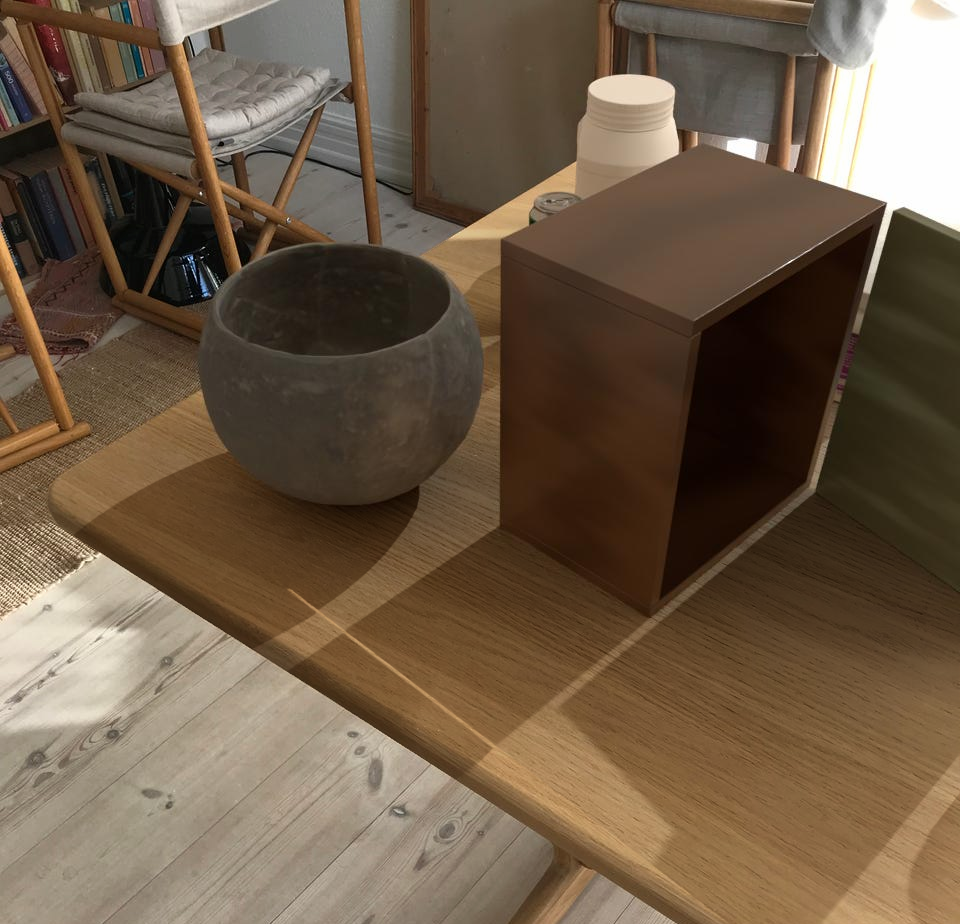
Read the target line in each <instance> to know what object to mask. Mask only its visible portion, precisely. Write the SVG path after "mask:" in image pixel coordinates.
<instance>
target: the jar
mask: <svg viewBox="0 0 960 924" xmlns="http://www.w3.org/2000/svg"><path fill="white" fill-rule="evenodd" d="M586 96H587V100H586V105H587V106H586V111H585V114H584V116H583V117H582V118H581V119H580V120H579V122H578V123H577V130H576V131H577V134H576V162H575V163H576V164H575V183H574V194H576V195H578V196H580V197H581V198H582V199H583V200H584V199H586V198H588V197H590V196H592V195H594V194H596V193H598V192H600V191H602V190H605V189H607V188H609V187H611V186H613V185H615V184H617V183H619V182H621V181H623V180H626V179H628V178H630V177H632V176H634V175H636V174H638V173H640V172H642V171H644V170H647V169H649V168H651V167H653V166H655V165H657V164H659V163H661V162H663V161H665V160H668V159H670V158H672V157H674V156H676V155H678V154H680V152H679V151H680V140H679V137H678V132H677V131H678V130H677V126H676V121H675V118H674V107H675V106H674V104H675V96H676V89H675V87H674V86H673V84H671V83H670V82H669V81H666V80H664V79H661V78H659V77H655V76H650V75H644V74H630V73H629V74H628V73H627V74H613V75H607V76H603V77H601V78H598V79H596V80H594V81H593V82H591V83H590V84H589V85H588V87H587V95H586Z"/></svg>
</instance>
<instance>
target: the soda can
mask: <svg viewBox="0 0 960 924" xmlns="http://www.w3.org/2000/svg"><path fill="white" fill-rule="evenodd" d="M581 200H583V199H582V198H581V197H580V196H578V195H576V194H575V193H572V192H569V191H568V192H567V191H549V192H545V193H542V194H540V195H538V196H536V197H535V198H534V200H533V206H532V207H531V209H530V210H529V212H528V226H529V225H531V224H533V223H535V222H537V221H539V220H542V219H544V218H546V217H548V216H550V215H552V214H554V213H556V212H558V211H560V210H563V209H565V208H567V207H569V206H571V205H573V204H575V203H577V202H579V201H581Z"/></svg>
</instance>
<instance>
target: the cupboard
mask: <svg viewBox="0 0 960 924" xmlns="http://www.w3.org/2000/svg"><path fill="white" fill-rule="evenodd" d="M887 207H888V202H887V201H884V200H881V199H877V198H874V197H871V196H869V195H866V194H862V193H859V192H857V191H852V190H849V189H846V188H844V187H841V186H837V185H835V184H831V183H828V182H826V181H822V180H818V179H815V178H813V177H810V176H806V175H803V174H800V173H798V172H794V171H791V170H789V169H785V168H781V167H778V166H775V165H772V164H769V163H766V162H763V161H760V160H757V159H753V158H751V157H748V156H744V155H741V154H738V153H735V152H732V151H728V150H726V149H724V148H719V147H717V146H713V145H711V144H708V143H704V142H702V143H699V144H697V145H695V146H693V147H691V148H689V149H687V150H685V151H683V152H679V154H678V155H676V156H674V157H672V158H670V159H668V160H665V161H663V162H661V163H659V164H657V165H655V166H653V167H651V168H649V169H647V170H644V171H642V172H640V173H638V174H636V175H634V176H632V177H630V178H628V179H626V180H623V181H621V182H619V183H617V184H615V185H613V186H611V187H609V188H607V189H605V190H602V191H600V192H598V193H596V194H594V195H592V196H590V197H588V198H586V199H584V200H581V201H579V202H577V203H575V204H573V205H571V206H569V207H567V208H565V209H563V210H560V211H558V212H556V213H554V214H552V215H550V216H548V217H546V218H544V219H542V220H539V221H537V222H535V223H533V224H531V225H529V224H528V225H527V226H525V227H523V228H521V229H519V230H516V231H514V232H512V233H510V234H507V235H506V236H504V237H502V238H500V290H499V291H500V293H499V294H500V298H499V299H500V300H499V301H500V306H499V307H500V308H499V309H500V310H499V311H500V313H499V314H500V315H499V319H500V320H499V321H500V323H499V328H500V329H499V334H500V335H499V343H500V344H499V360H500V361H499V367H500V368H499V527H501V529H504V530H505V531H507V532H508V533H510V534H512V535H513V536H515V537H517V538H518V539H520V540H522V541H523V542H524V543H526V544H528V545H530V546H532V547H533V548H534V549H536V550H537V551H539V552H541V553H542V554H544V555H546V556H547V557H549V558H551V560H554V561H555V562H557V563H558V564H560V565H561V566H564V567H565V568H566V569H568V570H569V571H572V572H573V573H574V574H577V575H578V576H580V577H581V578H583V579H585V580H586V581H588V582H589V583H591V584H593V585H594V586H596V587H597V588H599V589H601V590H602V591H604V592H606V593H607V594H609V595H611V596H612V597H614V598H615V599H617V600H619V601H620V602H621V603H623V604H625V605H627V606H629V607H630V608H632V610H635V611H636V612H638V613H639V614H641V615H643V616H645V617H646V618H651V617H652V616H653V615H655V614H656V613H657V612H658V611H660V610H661V609H662V608H664V606H665V605H667V604H668V603H669V602H671V601H672V600H673V599H674V598H675V597H677V596H678V595H679V594H680V593H682V592H683V591H684V590H685V589H687V588H688V587H689V586H690V585H691V584H692V583H694V582H695V581H696V580H697V579H699V578H700V577H701V576H702V575H703V574H705V573H706V572H707V571H709V570H710V569H711V568H712V567H713V566H714V565H716V564H717V563H718V562H720V561H721V560H722V559H723V558H725V556H727V555H728V554H730V552H732V551H733V550H734V549H736V548H737V547H738V546H739V545H740V544H741V543H743V542H744V541H745V540H746V539H748V538H749V537H751V535H752V534H754V533H755V532H756V531H757V530H759V529H760V528H761V527H762V526H764V525H765V524H766V523H767V522H768V521H769V520H771V519H772V518H774V517H775V516H776V515H777V514H778V513H780V512H781V511H782V510H783V509H784V508H785V507H787V506H788V505H789V504H791V503H792V502H793V501H794V500H795V499H797V498H798V497H799V496H800V495H801V494H803V493H804V492H805V491H806V490H808V489H809V488H810V486H811V483H812V480H813V477H814V473H815V470H816V465H817V462H818V459H819V455H820V451H821V448H822V444H823V440H824V436H825V432H826V429H827V425H828V422H829V418H830V415H831V412H832V411H831V410H832V407H833V404H834V396H835V393H836V389H837V385H838V382H839V378H840V374H841V371H842V367H843V363H844V360H845V356H846V352H847V349H848V345H849V341H850V338H851V334H852V330H853V327H854V323H855V319H856V316H857V312H858V308H859V305H860V301H861V297H862V294H863V290H864V286H865V283H866V279H867V275H868V273H870V272H869V271H870V268H871V264H872V260H873V257H874V252H875V249H876V245H877V242H878V238H879V235H880V231H881V227H882V224H883V220H884V217H885V213H886V209H887Z"/></svg>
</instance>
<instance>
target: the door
mask: <svg viewBox="0 0 960 924" xmlns="http://www.w3.org/2000/svg"><path fill="white" fill-rule="evenodd" d="M876 266H877V268H876V270H875V273H876V274H875V277H874V281H873V284H872V288H871V292H870V295H869V299H868V302H867V306H866V310H865V313H864V317H863V320H862V324H861V328H860V331H859V335H858V338H857V342H856V346H855V349H854V353H853V356H852V360H851V364H850V367H849V371H848V374H847V378H846V381H845V385H844V389H843V392H842V396H841V399H840V402H838V403H839V404H838V408H837V410H836V414H835V417H834V421H833V425H832V428H831V432H830V435H829V439H828V442H827V447H826V450H825V454H824V457H823V462H822V465H821V469H820V472H819V475H818V478H817V482H816V487H815V489H814V493H816V494H817V495H818V496H819V497H821V498H823V499H824V500H825V501H827V502H829V503H830V504H831V505H833V506H834V507H836V508H837V509H839V510H840V511H841V512H843V513H844V514H846V515H848V517H850V518H851V519H853V520H854V521H856V522H857V523H859V524H860V525H861V526H863V527H864V528H866V529H867V530H868V531H870V532H871V533H873V534H874V535H876V536H877V537H879V538H880V539H882V540H883V541H884V542H885V543H888V545H890V546H892V547H893V548H894V549H896V550H897V551H899V552H900V553H902V554H903V555H904V556H906V557H908V558H909V559H910V560H912V561H913V562H914V563H916V564H918V565H919V566H920V567H922V568H923V569H924V570H927V571H928V572H929V573H930V574H931V575H933V576H935V577H936V578H937V579H939V580H940V581H942V582H944V583H945V584H946V585H948V586H949V587H951V588H952V589H953V590H955V591H956V592H958V593H959V594H960V231H959V230H957V229H954V228H952V227H950V226H948V225H946V224H943V223H941V222H938V221H936V220H934V219H932V218H930V217H927V216H925V215H923V214H920V213H918V212H916V211H915V210H912V209H909V208H907V207H905V206H902V207H899V208H897V209H894V210H892V214H891V215H890V220H889V224H888V227H887V230H886V234H885V238H884V241H883V245H882V248H881V251H880V256H879V259H878V263H877V265H876Z"/></svg>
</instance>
